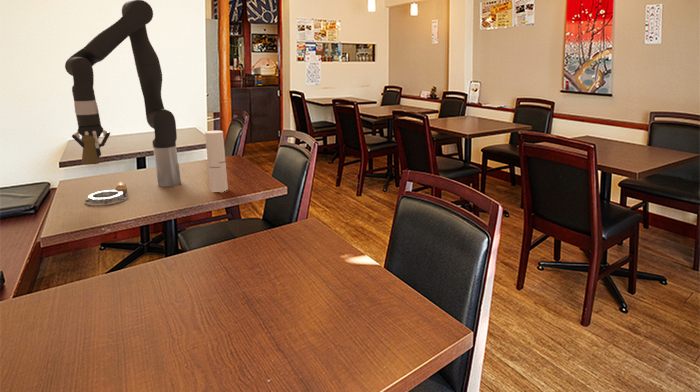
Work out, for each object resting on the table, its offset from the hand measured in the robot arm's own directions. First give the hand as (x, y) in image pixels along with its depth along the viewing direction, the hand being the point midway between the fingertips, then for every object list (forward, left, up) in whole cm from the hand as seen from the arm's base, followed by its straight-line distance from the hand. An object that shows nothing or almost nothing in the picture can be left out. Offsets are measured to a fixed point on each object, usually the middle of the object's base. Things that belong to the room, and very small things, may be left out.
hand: (95, 157), depth 169 cm
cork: (+2, 0, -2) cm, 3 cm away
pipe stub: (-7, -6, -17) cm, 19 cm away
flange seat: (-1, +3, -17) cm, 17 cm away
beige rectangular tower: (-44, +9, -17) cm, 48 cm away
